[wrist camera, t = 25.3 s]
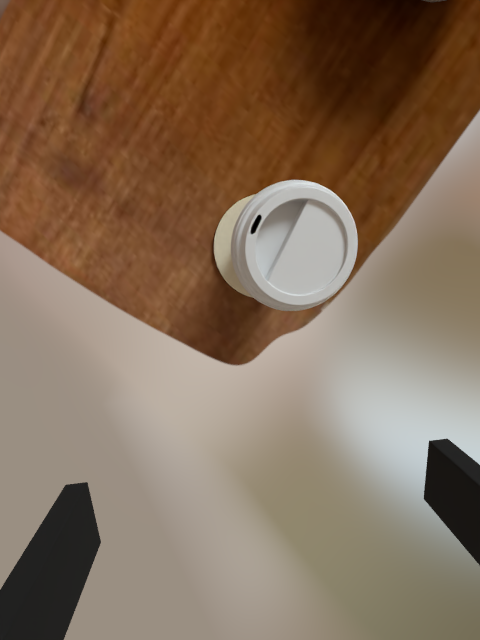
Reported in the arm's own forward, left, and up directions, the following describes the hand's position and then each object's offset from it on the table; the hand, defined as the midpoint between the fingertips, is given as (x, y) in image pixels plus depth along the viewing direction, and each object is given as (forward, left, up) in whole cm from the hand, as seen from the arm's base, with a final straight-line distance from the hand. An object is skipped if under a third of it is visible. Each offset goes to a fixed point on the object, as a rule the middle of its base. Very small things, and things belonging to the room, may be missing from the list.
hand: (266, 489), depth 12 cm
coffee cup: (+6, +8, -26) cm, 28 cm away
